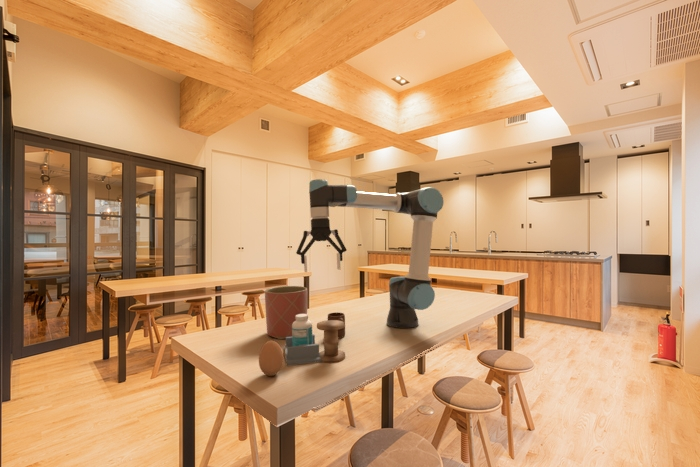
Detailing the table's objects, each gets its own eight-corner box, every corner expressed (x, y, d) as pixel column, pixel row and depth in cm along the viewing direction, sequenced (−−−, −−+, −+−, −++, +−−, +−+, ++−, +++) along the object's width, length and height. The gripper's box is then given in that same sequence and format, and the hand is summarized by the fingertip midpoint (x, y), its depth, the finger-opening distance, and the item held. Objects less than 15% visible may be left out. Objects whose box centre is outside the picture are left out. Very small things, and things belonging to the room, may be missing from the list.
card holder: (314, 344, 128) (314, 332, 128) (321, 361, 111) (321, 347, 111) (284, 347, 125) (284, 335, 125) (286, 365, 108) (286, 351, 108)
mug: (352, 340, 132) (351, 317, 133) (334, 343, 130) (334, 319, 130) (341, 332, 144) (341, 311, 144) (325, 334, 141) (325, 313, 141)
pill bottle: (305, 346, 123) (304, 311, 123) (316, 351, 118) (316, 314, 118) (288, 351, 118) (287, 315, 118) (300, 356, 113) (299, 318, 113)
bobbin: (341, 350, 120) (341, 319, 121) (348, 360, 111) (347, 326, 111) (315, 353, 118) (314, 321, 118) (319, 364, 108) (318, 329, 108)
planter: (278, 343, 131) (277, 294, 131) (258, 333, 145) (257, 289, 145) (316, 333, 143) (315, 288, 143) (294, 324, 157) (293, 284, 158)
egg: (282, 379, 97) (281, 344, 97) (256, 381, 97) (255, 345, 97) (285, 369, 105) (284, 336, 105) (261, 370, 104) (260, 337, 104)
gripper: (347, 217, 135) (349, 267, 135) (288, 219, 129) (290, 272, 129) (352, 216, 128) (354, 269, 128) (289, 218, 122) (292, 274, 122)
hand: (322, 270), depth 128 cm, fingers open, 13 cm apart
